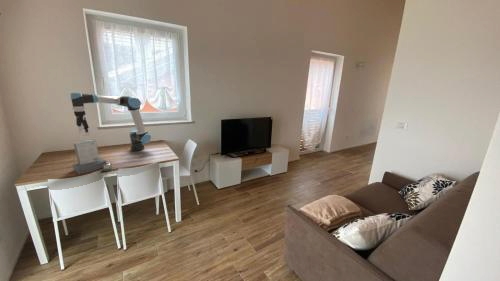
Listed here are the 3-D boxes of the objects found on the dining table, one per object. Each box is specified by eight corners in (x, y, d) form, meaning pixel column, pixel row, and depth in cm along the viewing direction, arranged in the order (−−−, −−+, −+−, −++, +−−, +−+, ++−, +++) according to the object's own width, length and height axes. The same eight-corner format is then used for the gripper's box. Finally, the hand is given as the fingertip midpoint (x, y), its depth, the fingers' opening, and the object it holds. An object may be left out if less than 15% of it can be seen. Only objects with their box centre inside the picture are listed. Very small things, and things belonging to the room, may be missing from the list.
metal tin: (110, 167, 201) (109, 162, 199) (113, 168, 197) (113, 164, 196) (102, 169, 195) (101, 164, 194) (105, 171, 192) (104, 166, 190)
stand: (100, 162, 209) (99, 157, 207) (107, 166, 201) (106, 160, 200) (73, 170, 191) (72, 164, 190) (79, 174, 184) (78, 168, 182)
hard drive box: (97, 158, 204) (93, 139, 198) (100, 160, 199) (96, 141, 193) (77, 163, 192) (73, 142, 187) (79, 165, 188) (75, 144, 182)
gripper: (68, 109, 185) (74, 132, 191) (79, 113, 171) (84, 137, 177) (79, 108, 191) (83, 131, 197) (90, 112, 177) (94, 136, 183)
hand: (84, 134), depth 187 cm, fingers open, 13 cm apart
